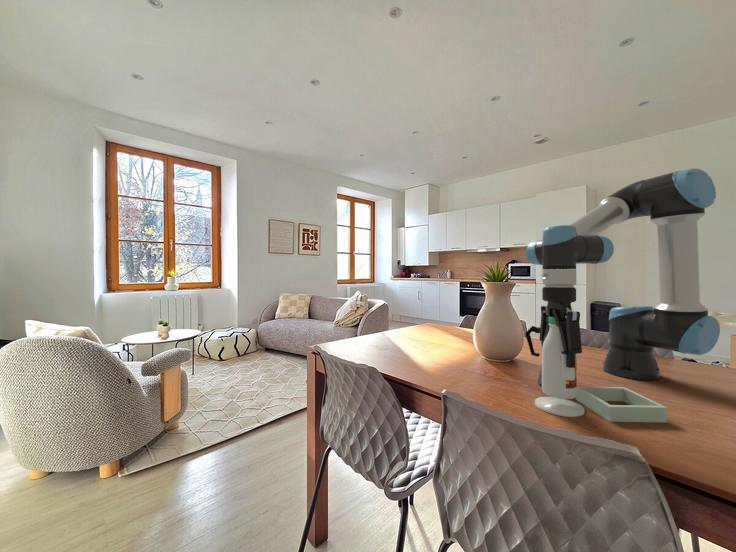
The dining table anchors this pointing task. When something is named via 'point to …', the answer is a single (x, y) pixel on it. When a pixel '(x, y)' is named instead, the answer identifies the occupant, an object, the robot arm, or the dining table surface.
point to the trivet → (559, 407)
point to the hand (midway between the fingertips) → (558, 374)
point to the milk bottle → (555, 366)
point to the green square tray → (634, 412)
